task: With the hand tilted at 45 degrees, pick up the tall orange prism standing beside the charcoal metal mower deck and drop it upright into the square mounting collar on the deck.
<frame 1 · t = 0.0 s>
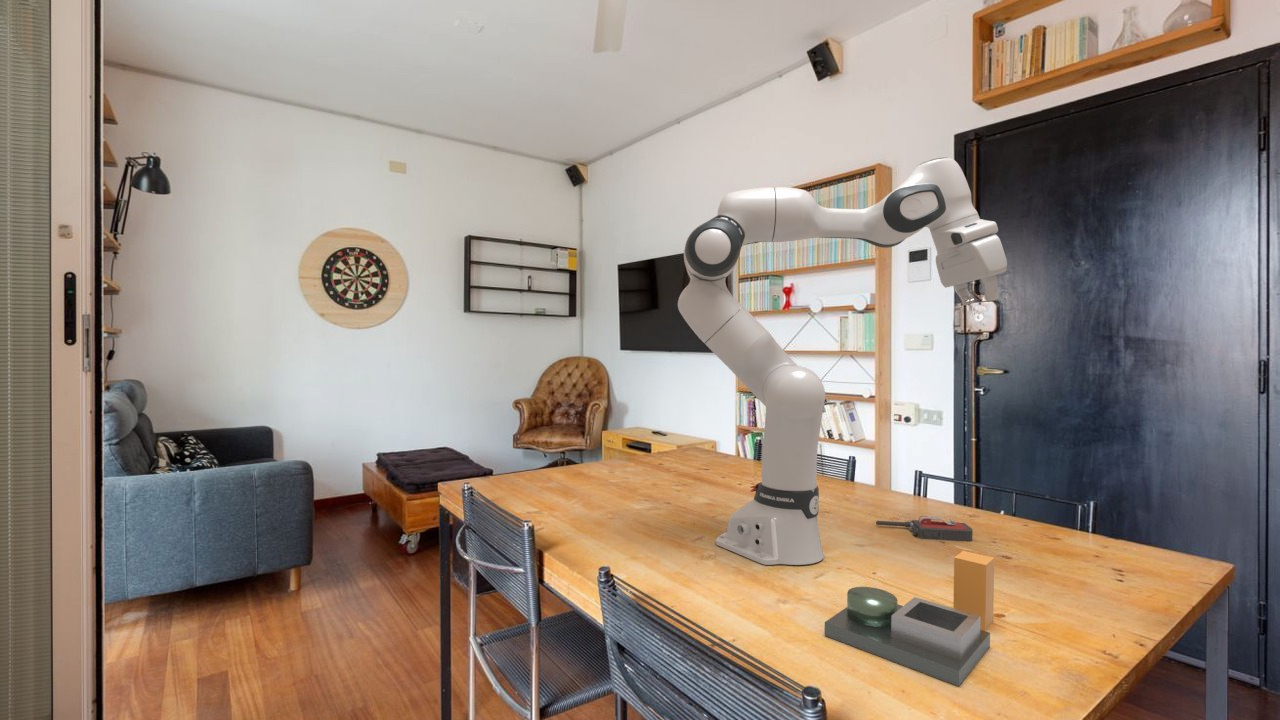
hand: (980, 302, 116), 52 cm above the table, tool tilted 20°, fingers open, 8 cm apart
deck: (905, 641, 83), on the table
walkie-talkie: (924, 536, 134), on the table
tall orange prism: (973, 621, 90), on the table
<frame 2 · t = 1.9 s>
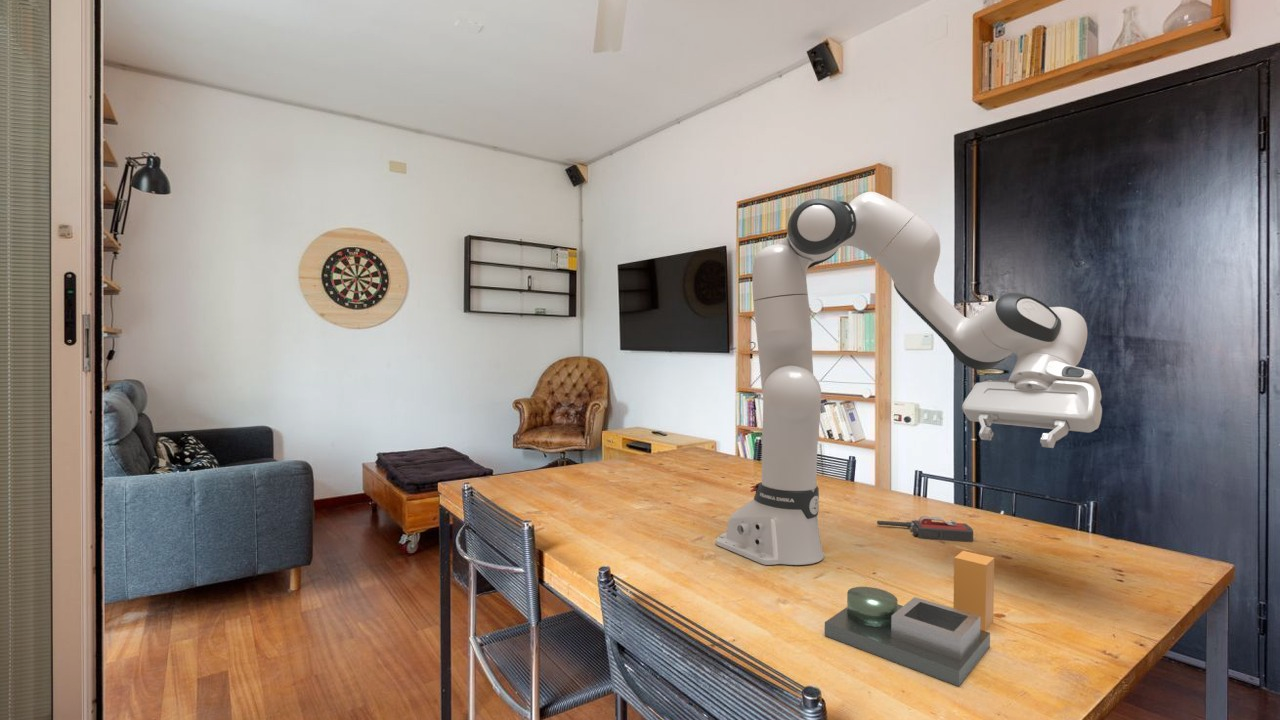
hand: (1014, 441, 97), 27 cm above the table, tool tilted 45°, fingers open, 8 cm apart
nothing on the table moved.
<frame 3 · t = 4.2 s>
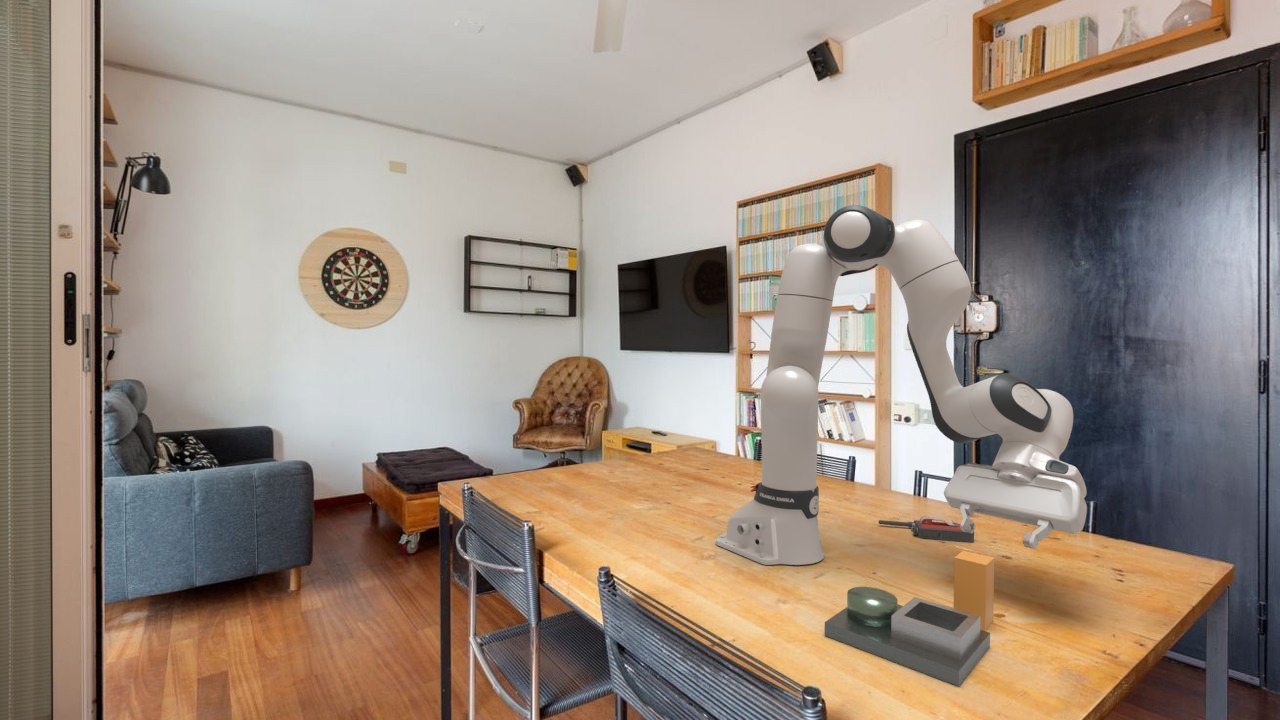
hand: (995, 538, 94), 12 cm above the table, tool tilted 45°, fingers open, 8 cm apart
nothing on the table moved.
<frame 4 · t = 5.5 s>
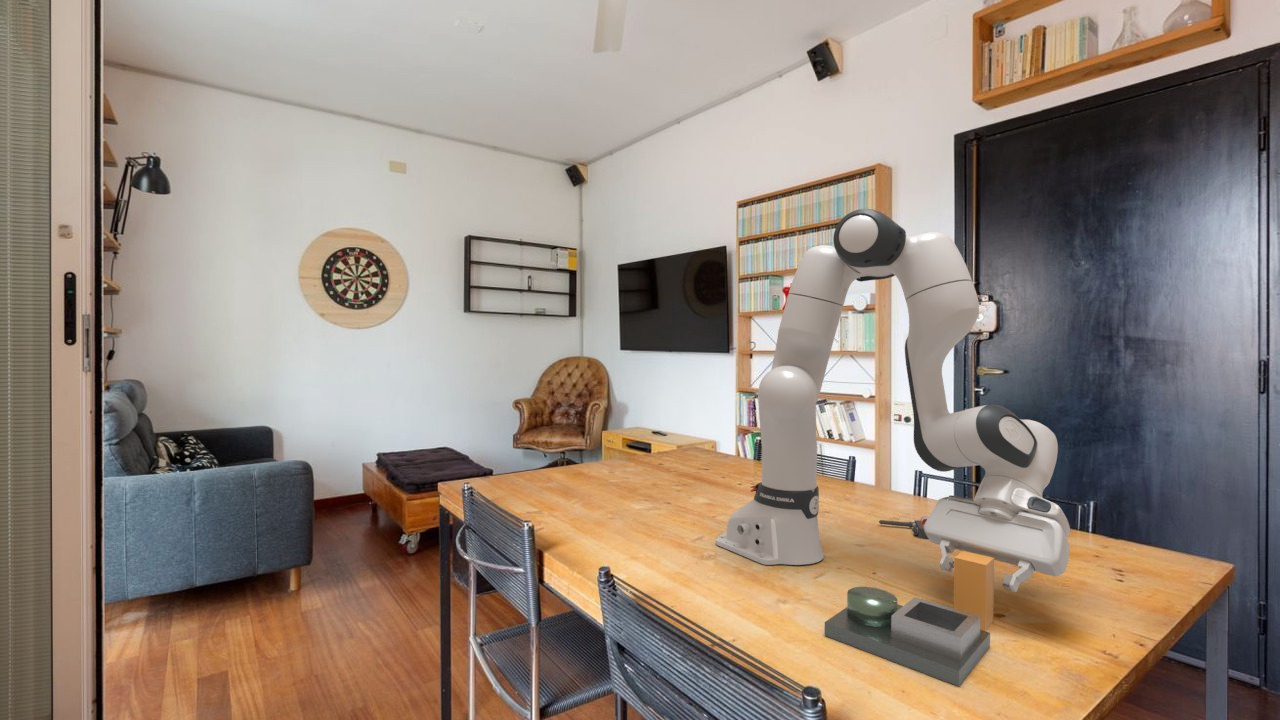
hand: (975, 578, 90), 7 cm above the table, tool tilted 45°, fingers open, 8 cm apart
nothing on the table moved.
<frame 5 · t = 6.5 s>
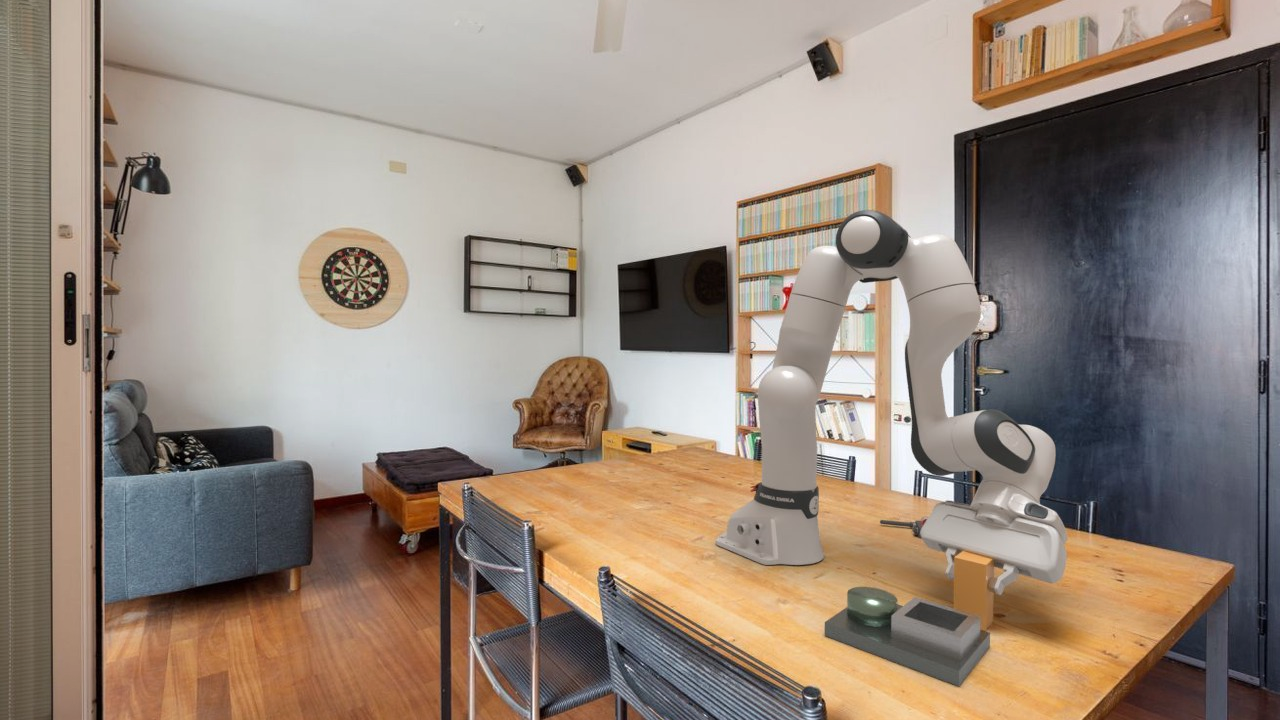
hand: (971, 584, 89), 6 cm above the table, tool tilted 45°, fingers closed on tall orange prism, 5 cm apart
tall orange prism: (973, 621, 90), on the table, touching gripper
everything else where it was.
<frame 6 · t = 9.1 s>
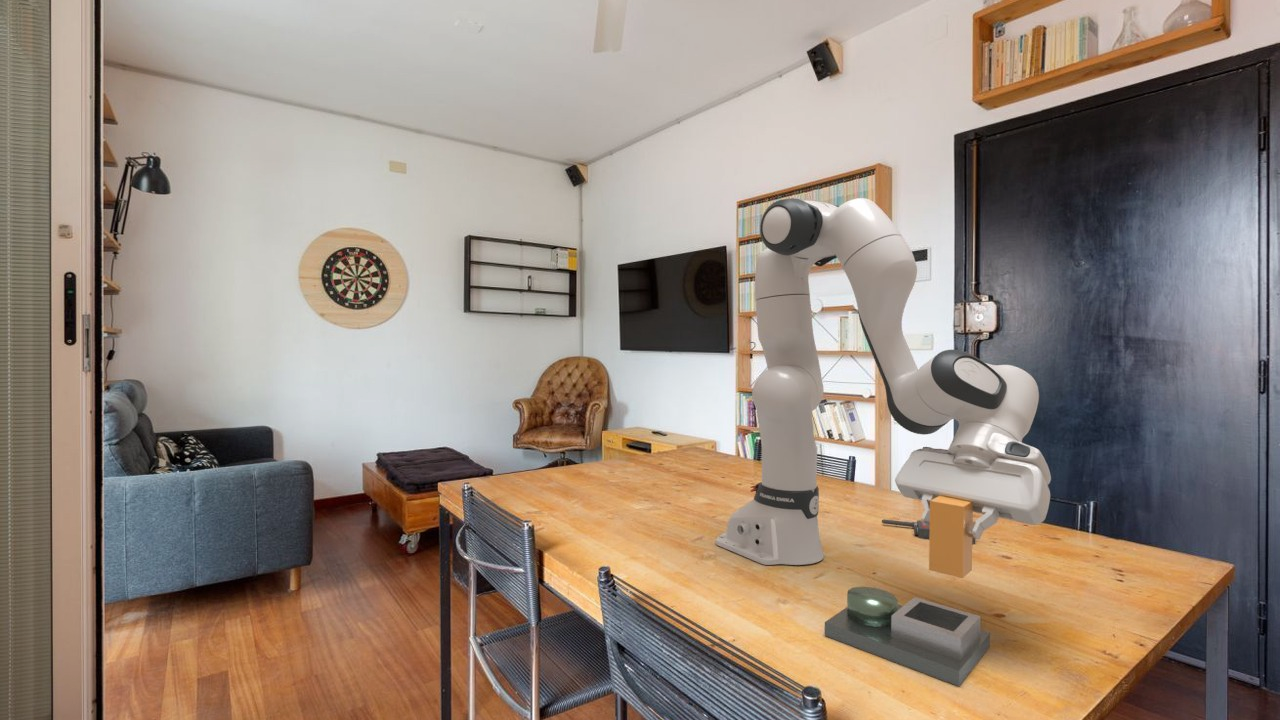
hand: (948, 530, 83), 16 cm above the table, tool tilted 45°, fingers closed on tall orange prism, 5 cm apart
tall orange prism: (950, 570, 83), point 10 cm above the table, touching gripper
when the fingers open (9 cm above the table, at t = 11.6 s): tall orange prism drops 1 cm, resting on deck.
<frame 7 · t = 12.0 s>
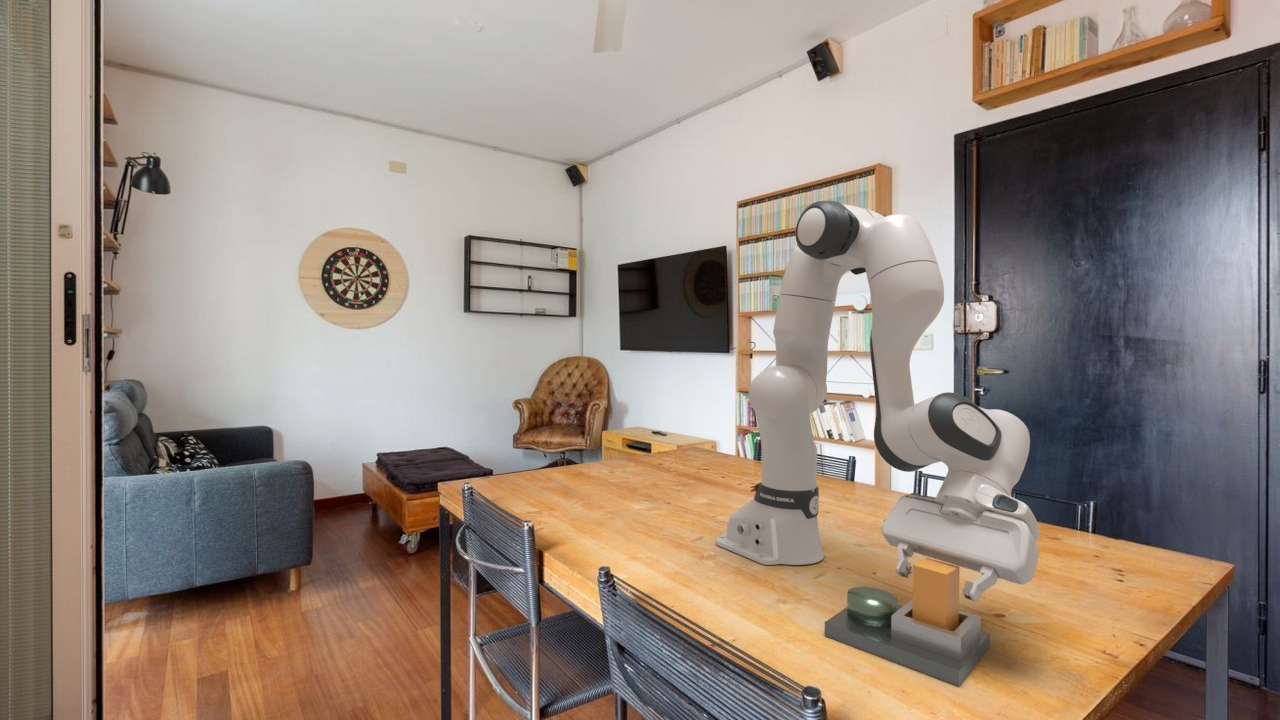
hand: (933, 585, 80), 9 cm above the table, tool tilted 45°, fingers open, 8 cm apart
tall orange prism: (935, 637, 81), point 2 cm above the table, touching deck
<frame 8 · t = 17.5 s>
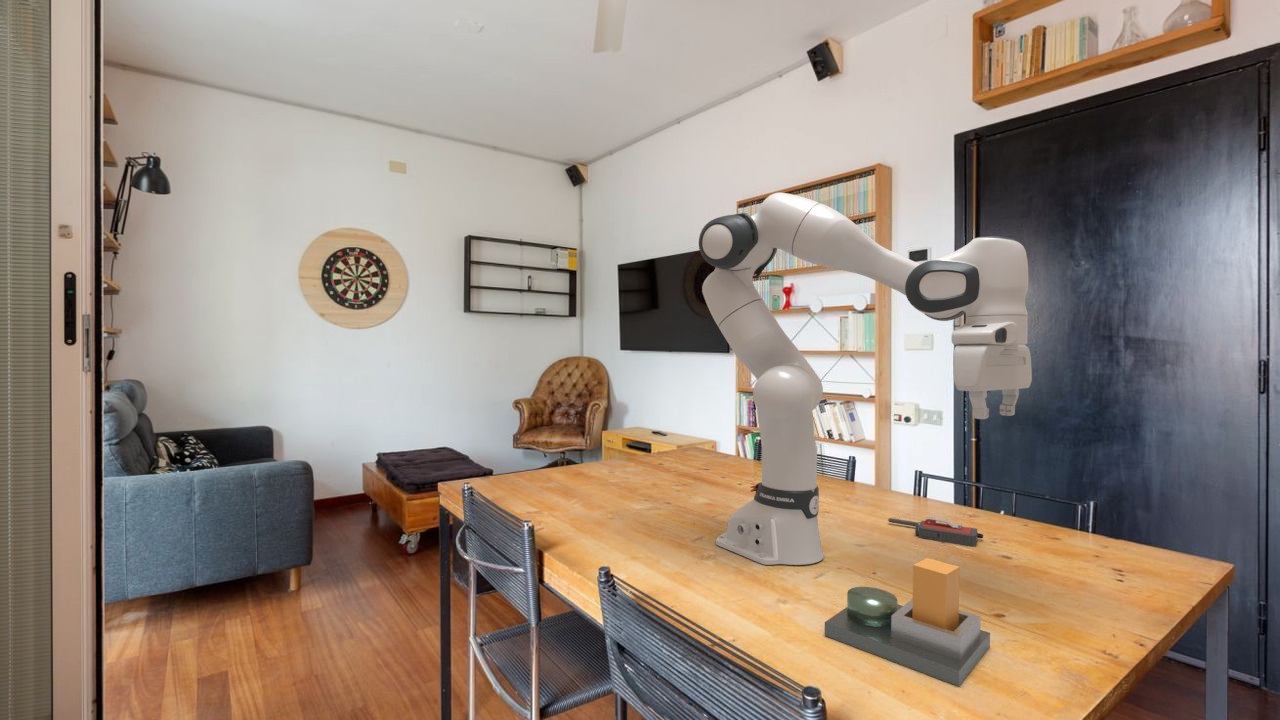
hand: (994, 417, 96), 31 cm above the table, tool pointing down, fingers open, 8 cm apart
at the end: tall orange prism 0.1 cm from the target spot on the deck, point 2.0 cm above the deck's base; tall orange prism tilted 0°; the gripper is holding nothing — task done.
